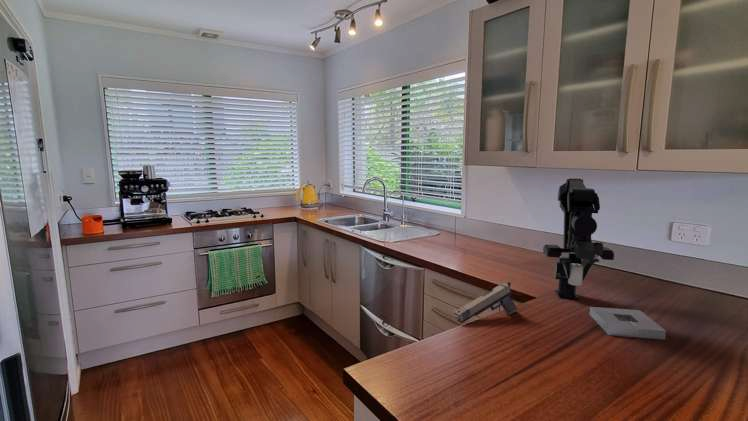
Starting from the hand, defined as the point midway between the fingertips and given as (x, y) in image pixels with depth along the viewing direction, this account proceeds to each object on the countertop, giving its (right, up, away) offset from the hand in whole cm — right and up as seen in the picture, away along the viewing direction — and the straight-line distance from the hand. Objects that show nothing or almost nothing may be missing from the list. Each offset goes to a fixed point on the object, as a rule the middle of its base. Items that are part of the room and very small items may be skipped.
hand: (575, 278), depth 117 cm
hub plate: (+11, -13, -7) cm, 18 cm away
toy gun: (-28, -12, -1) cm, 31 cm away
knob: (0, -2, 0) cm, 2 cm away
